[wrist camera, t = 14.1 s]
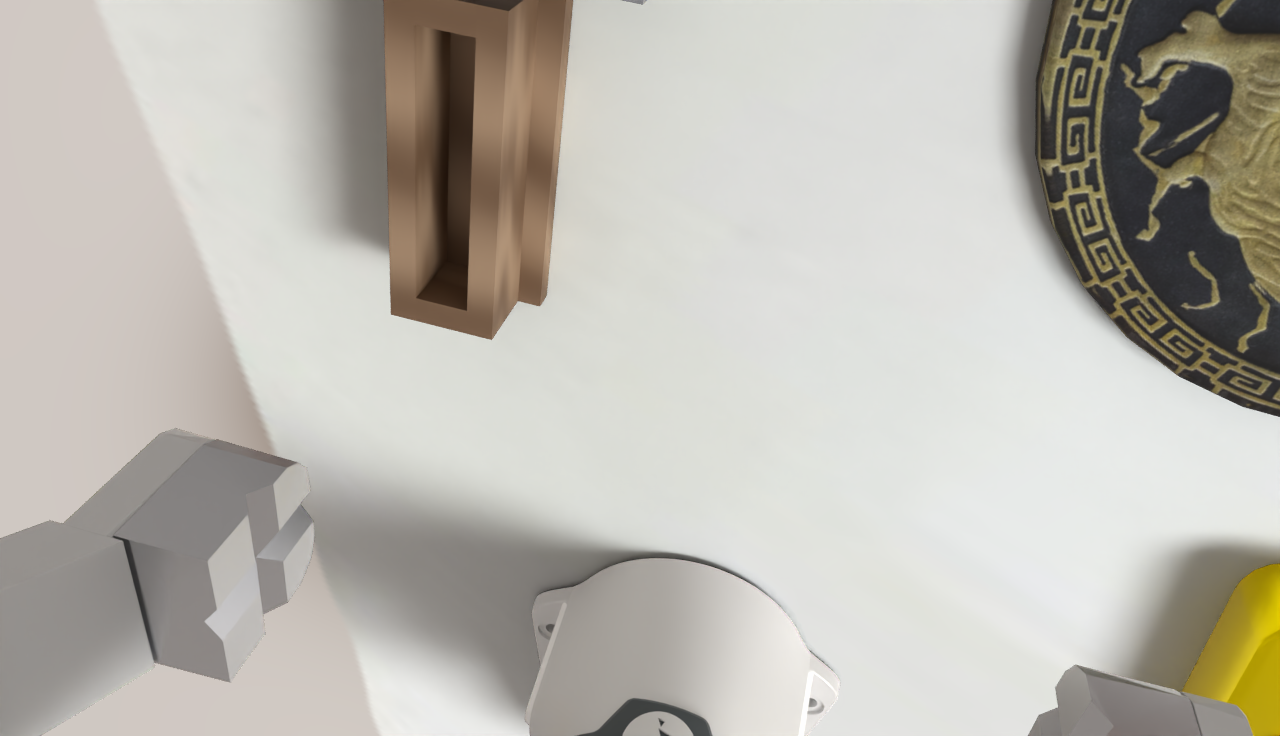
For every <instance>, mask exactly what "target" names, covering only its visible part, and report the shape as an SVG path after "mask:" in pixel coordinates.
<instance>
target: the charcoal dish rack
mask: <svg viewBox="0 0 1280 736" xmlns="http://www.w3.org/2000/svg"><path fill="white" fill-rule="evenodd" d="M623 1H628V2H633V3H637V4H642V5H643V4H644V3H645V2H646V1H647V0H623Z"/></svg>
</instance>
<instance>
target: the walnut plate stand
mask: <svg viewBox="0 0 1280 736" xmlns="http://www.w3.org/2000/svg"><path fill="white" fill-rule="evenodd" d="M572 7H573V0H384V38H385V81H386V124H387V167H388V210H389V253H390V296H391V315H395V316H399V317H403V318H407V319H411V320H415V321H419V322H423V323H427V324H431V325H435V326H439V327H443V328H447V329H451V330H455V331H459V332H463V333H467V334H471V335H475V336H478V337H482V338H486V339H490V340H492V339H493V337H494V336H495V334H496V333H497V331H498V330H499V328H500V327H501V325H502V324H503V322H504V321H505V319H506V318H507V316H508V315H509V313H510V312H511V310H512V309H513V307H514V306H515V304H516V303H517V301H520V302H524V303H529V304H533V305H537V306H540V305H541V304H542V302H543V301H544V299H545V298H546V296H547V285H548V274H549V263H550V251H551V240H552V229H553V218H554V207H555V196H556V185H557V174H558V163H559V151H560V140H561V129H562V118H563V107H564V96H565V85H566V74H567V63H568V51H569V40H570V29H571V18H572Z"/></svg>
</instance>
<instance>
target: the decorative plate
mask: <svg viewBox="0 0 1280 736" xmlns="http://www.w3.org/2000/svg"><path fill="white" fill-rule="evenodd" d="M1035 154H1036V159H1037V163H1038V168H1039V172H1040V177H1041V181H1042V186H1043V190H1044V195H1045V199H1046V203H1047V208H1048V212H1049V217H1050V221H1051V223H1052V225H1053V227H1054V229H1055V231H1056V233H1057V235H1058V237H1059V239H1060V241H1061V244H1062V246H1063V248H1064V250H1065V252H1066V254H1067V256H1068V258H1069V260H1070V262H1071V264H1072V266H1073V268H1074V270H1075V272H1076V274H1077V276H1078V278H1079V280H1080V282H1081V283H1082V285H1083V286H1084V287H1085V288H1086V290H1087V291H1088V292H1089V293H1090V294H1091V296H1092V297H1093V298H1094V299H1095V300H1096V301H1097V303H1098V304H1099V305H1100V306H1101V307H1102V308H1103V310H1104V311H1105V312H1106V313H1107V314H1108V316H1109V317H1110V318H1111V319H1112V320H1113V321H1114V323H1115V324H1116V325H1117V326H1118V327H1119V329H1120V330H1121V331H1122V332H1123V333H1124V334H1125V336H1126V337H1127V338H1129V339H1130V340H1131V341H1133V342H1134V343H1135V344H1137V345H1138V346H1139V347H1141V348H1142V349H1143V350H1145V351H1146V352H1147V353H1149V354H1150V355H1151V356H1153V357H1154V358H1155V359H1157V360H1158V361H1159V362H1161V363H1162V364H1163V365H1164V366H1166V367H1167V368H1168V369H1170V370H1171V371H1172V372H1174V373H1175V374H1176V375H1178V376H1179V377H1181V378H1183V379H1186V380H1188V381H1190V382H1192V383H1194V384H1196V385H1198V386H1200V387H1202V388H1204V389H1206V390H1209V391H1211V392H1213V393H1215V394H1217V395H1219V396H1221V397H1223V398H1225V399H1227V400H1229V401H1232V402H1234V403H1236V404H1238V405H1240V406H1242V407H1246V408H1249V409H1253V410H1257V411H1260V412H1264V413H1267V414H1271V415H1275V416H1278V417H1280V0H1053V3H1052V7H1051V12H1050V16H1049V21H1048V26H1047V30H1046V35H1045V40H1044V44H1043V49H1042V53H1041V58H1040V63H1039V67H1038V72H1037V77H1036V141H1035Z"/></svg>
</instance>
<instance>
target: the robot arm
mask: <svg viewBox="0 0 1280 736" xmlns="http://www.w3.org/2000/svg"><path fill="white" fill-rule="evenodd" d="M309 492H310V484H309V477H308V470H307V467H305V466H303V465H301V464H300V463H298V462H294V461H291V460H287V459H284V458H280V457H277V456H273V455H270V454H266V453H263V452H259V451H256V450H252V449H249V448H245V447H242V446H239V445H235V444H232V443H228V442H224V441H221V440H218V439H216V440H215V439H211V438H208V437H205V436H201V435H198V434H194V433H190V432H187V431H183V430H180V429H177V428H175V429H171V430H169V431H166V432H163V433H160V434H159V435H158V436H157V437H156V438H155V439H154V440H153V441H151V442H150V443H149V444H148V445H147V446H146V447H145V448H144V449H143V450H142V451H141V452H140V453H138V455H136V456H135V457H134V458H133V459H132V460H131V461H130V462H129V463H128V464H127V465H125V466H124V467H123V468H122V469H121V470H120V471H119V472H118V473H117V474H116V475H115V476H114V477H113V478H111V479H110V480H109V481H108V482H107V483H106V484H105V485H104V486H103V487H102V488H101V489H100V490H99V491H97V492H96V493H95V494H94V495H93V496H92V497H91V498H90V499H89V500H88V501H87V502H86V503H85V504H84V505H82V506H81V507H80V508H79V509H78V510H77V511H76V512H75V513H74V514H73V515H72V516H70V517H69V518H68V519H67V520H66V521H65V522H64V523H63V524H62V523H58V522H54V521H47V522H44V523H41V524H39V525H36V526H33V527H30V528H28V529H25V530H22V531H19V532H16V533H14V534H11V535H8V536H6V537H3V538H0V736H41V735H43V734H45V733H46V732H48V731H50V730H51V729H53V728H55V727H56V726H58V725H60V724H61V723H63V722H65V721H66V720H68V719H70V718H71V717H73V716H75V715H76V714H78V713H80V712H81V711H83V710H85V709H87V708H88V707H90V706H91V705H93V704H95V703H96V702H98V701H100V700H102V699H103V698H105V697H107V696H108V695H110V694H112V693H113V692H115V691H117V690H118V689H120V688H122V687H123V686H125V685H127V684H128V683H130V682H132V681H133V680H135V679H137V678H138V677H140V676H142V675H143V674H145V673H147V672H148V671H150V670H152V669H153V668H154V667H155V664H154V663H158V664H161V665H166V666H169V667H173V668H177V669H181V670H184V671H188V672H192V673H196V674H200V675H204V676H207V677H211V678H215V679H219V680H223V681H227V682H231V681H232V680H233V678H234V677H235V675H236V674H237V672H238V671H239V670H240V668H241V667H242V666H243V664H244V663H245V661H246V660H247V659H248V657H249V656H250V654H251V653H252V652H253V650H254V649H255V648H256V646H257V645H258V643H259V642H260V641H261V639H262V638H263V637H264V635H265V625H264V617H263V614H265V613H267V612H269V611H271V610H273V609H275V608H277V607H279V606H281V605H283V604H285V603H288V601H289V600H290V599H291V597H292V596H293V594H294V593H295V591H296V590H297V588H298V587H299V585H300V584H301V582H302V580H303V578H304V575H305V572H306V570H307V568H308V565H309V563H310V560H311V558H312V552H313V545H314V538H315V536H314V523H313V520H312V518H311V517H310V516H309V514H308V513H307V512H306V511H305V509H304V508H303V507H302V505H301V502H302V501H303V500H304V499H305V497H306V496H307V495H308V493H309ZM532 620H533V626H534V632H535V637H536V643H537V649H538V654H539V660H540V666H541V667H540V670H539V673H538V676H537V679H536V682H535V685H534V688H533V691H532V694H531V697H530V700H529V703H528V706H527V709H526V713H525V722H526V723H527V724H528V725H529V731H530V736H808V735H809V734H810V732H811V731H812V730H813V729H814V728H815V726H816V725H817V724H818V723H819V722H820V720H821V719H822V718H823V717H824V716H825V714H826V713H827V712H828V711H829V710H830V708H831V707H832V706H833V705H834V704H835V702H836V701H837V699H838V694H839V690H840V680H839V678H838V677H837V675H836V674H835V673H834V672H833V671H832V670H831V669H830V668H829V667H828V666H826V665H825V664H824V663H823V662H822V661H820V660H819V659H818V658H817V657H815V656H814V655H813V654H811V652H810V651H809V650H808V648H807V647H806V645H805V644H804V642H803V640H802V638H801V636H800V634H799V632H798V630H797V628H796V627H795V625H794V623H793V622H792V621H791V619H790V618H789V616H788V615H787V614H786V613H785V612H784V611H783V610H782V608H781V607H780V606H779V605H778V604H777V603H775V602H774V601H773V600H772V599H771V598H770V597H768V596H767V595H766V594H765V593H763V592H762V591H760V590H759V589H758V588H756V587H754V586H753V585H751V584H750V583H748V582H746V581H744V580H742V579H740V578H738V577H736V576H734V575H732V574H730V573H727V572H725V571H722V570H720V569H717V568H714V567H711V566H707V565H704V564H700V563H696V562H691V561H685V560H678V559H668V558H648V559H638V560H631V561H626V562H622V563H619V564H616V565H613V566H610V567H608V568H606V569H603V570H601V571H600V572H598V573H596V574H595V575H593V576H592V577H590V578H589V579H587V580H586V581H584V582H582V583H581V584H579V585H576V586H574V587H568V588H562V589H555V590H551V591H547V592H543V593H541V594H539V595H538V596H537V597H536V599H535V602H534V606H533V609H532ZM1055 690H1056V696H1057V703H1058V708H1055V709H1053V710H1050V711H1048V712H1045V713H1043V714H1041V715H1039V716H1038V718H1037V719H1036V721H1035V723H1034V725H1033V727H1032V729H1031V731H1030V733H1029V734H1028V736H1253V733H1252V731H1251V728H1250V725H1249V722H1248V719H1247V717H1246V715H1245V714H1244V713H1243V712H1242V711H1241V709H1240V708H1239V707H1238V706H1237V705H1234V704H1230V703H1226V702H1222V701H1218V700H1214V699H1210V698H1206V697H1202V696H1198V695H1194V694H1190V693H1186V692H1178V691H1176V690H1174V689H1171V688H1167V687H1163V686H1159V685H1155V684H1151V683H1147V682H1143V681H1139V680H1135V679H1131V678H1127V677H1123V676H1119V675H1115V674H1111V673H1107V672H1103V671H1099V670H1095V669H1091V668H1087V667H1083V666H1079V665H1074V666H1073V667H1071V668H1070V669H1068V670H1067V671H1065V673H1064V674H1063V676H1062V677H1061V679H1060V681H1059V682H1058V684H1057V686H1056V687H1055Z"/></svg>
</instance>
